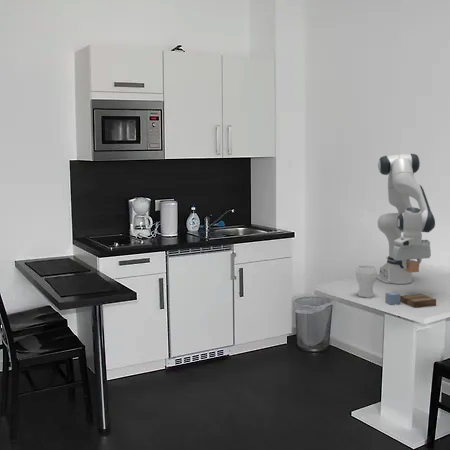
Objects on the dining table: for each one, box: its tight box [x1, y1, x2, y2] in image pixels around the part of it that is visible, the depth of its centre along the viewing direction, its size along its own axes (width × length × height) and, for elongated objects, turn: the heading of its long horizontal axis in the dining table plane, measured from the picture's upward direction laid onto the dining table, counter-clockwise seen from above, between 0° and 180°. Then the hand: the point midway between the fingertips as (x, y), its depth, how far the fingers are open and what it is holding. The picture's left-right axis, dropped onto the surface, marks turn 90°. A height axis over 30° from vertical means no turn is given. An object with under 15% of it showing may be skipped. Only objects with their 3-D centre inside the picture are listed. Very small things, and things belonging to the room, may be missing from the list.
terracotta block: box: [404, 259, 420, 273], centre depth 308 cm, size 5×5×5 cm
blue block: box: [385, 291, 401, 306], centre depth 303 cm, size 5×5×5 cm
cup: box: [355, 264, 378, 298], centre depth 318 cm, size 11×11×15 cm
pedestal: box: [400, 293, 437, 309], centre depth 302 cm, size 12×12×3 cm
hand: (411, 268), depth 308 cm, fingers closed on terracotta block, 5 cm apart
